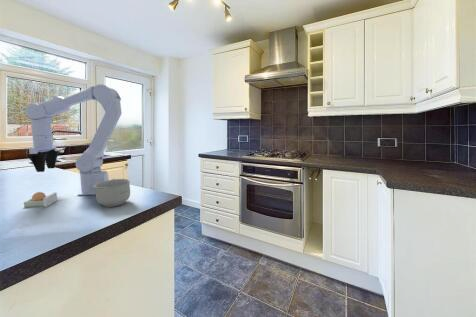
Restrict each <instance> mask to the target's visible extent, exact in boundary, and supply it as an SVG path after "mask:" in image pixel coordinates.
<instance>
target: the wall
mask: <svg viewBox="0 0 476 317" xmlns="http://www.w3.org/2000/svg"><path fill="white" fill-rule="evenodd" d="M46 196H47V197H45V198H43V203H44V206H43V208H47V207H49V206H50V205H52V204H54V203H56V202H57V201H58V194H57V192H52V193H50V194H49V195H48V194H47V195H46Z"/></svg>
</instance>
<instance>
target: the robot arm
mask: <svg viewBox="0 0 476 317" xmlns="http://www.w3.org/2000/svg"><path fill="white" fill-rule="evenodd" d="M121 100H122V97H121V96H120V95H119V92H118V91H117V90H116V89H115V88H114V89H113V88H111V87H109V86H107V85H105V84H100V83H99V84H97V85H92V86H89V87H88V88H85V89H83V90H80V91H78V92H76V93H74V94H71V95H69V96H66V97H63V96H60V95H53V96H52V98H50V99H48V100H41V101H39V103H38V102H30V103H29V104H28V105H26V107H25V114H26V115H27V117H28V118H30V125H31V127H30V128H31V135H32V143H33V146H30V147H29V148H28V152H29V153H26V157H27V158H28V159H29V160H30V161H31V163H32V164H33V166H34V169H35V171H36V173H44V172H45V169H46V167H47V169H55V167H56V164H57V163H56V162H57V159H58V157H59V154H60V150H57V145H54V143H53V132H52V118H53V117H54V116H56V115H59V114H62V113H66V112H68V111H70V109H71V107H72V106H74V105H78V104H81V103H85V102H88V101H89V102H90V101H97V103H99V104H100V105H101V107H102V109H103V110H104V114H103V117H102V118H101V121H100V123H99V125H98V127H97V129H96V131H95V134H94V136H93V138H92V140H91V142H90V144H89V146H88V148H87V149H86V150H84V151H83V152H82V154H81V156H79V157H78V158H77V159H76V160H75V168H76V170H78V171H79V175H80V176H79V177H80V178H79V179H80V187H81V188H80V189H81V191H80V192H79V193H77V196H89V195H90V196H91V195H96V193H95V188H94V185H95V184H97V183H100V182H103V181H108V180H110V179H109V173H108V171H106V170H102V168H101V167H103V164H104V157H105V152H104V151H105V150H106V147H107V145H108V142H109V141H110V139H111V136H112V134H113V132H114V130H115V128H116V126H117V124H118V122H119V120H120V118H121V116H122V113H123V112H122V107H121V106H122V105H121Z"/></svg>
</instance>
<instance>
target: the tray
mask: <svg viewBox="0 0 476 317" xmlns="http://www.w3.org/2000/svg"><path fill="white" fill-rule="evenodd" d="M47 196H48V195H46V197H47ZM23 207H24V208H27V207H28V208H29V207H31V208H32V207H44V203H43V201H33V200H32V197H31V198H29V199H27V200H26V201H24V202H23Z"/></svg>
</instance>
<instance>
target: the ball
mask: <svg viewBox="0 0 476 317" xmlns="http://www.w3.org/2000/svg"><path fill="white" fill-rule="evenodd" d="M31 196H32V197H31V198H32V200H33V201H43V198H45V197H46V196H47V195H46V193H44V192H41V191H37V192H35V193H33V194H32V195H31Z"/></svg>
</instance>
